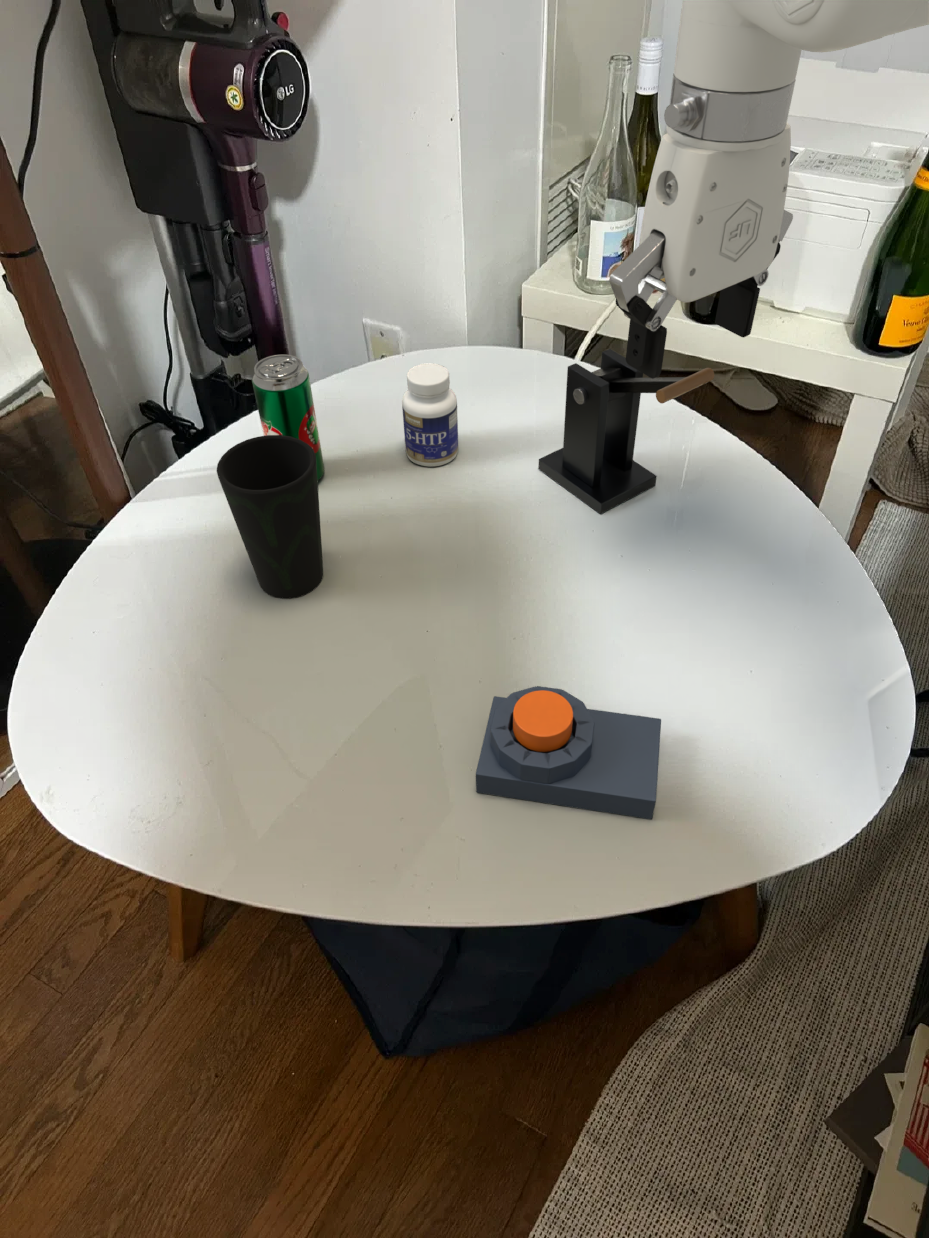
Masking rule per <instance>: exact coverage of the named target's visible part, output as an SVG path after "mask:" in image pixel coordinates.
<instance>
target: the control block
mask: <svg viewBox="0 0 929 1238" xmlns="http://www.w3.org/2000/svg"><path fill="white" fill-rule="evenodd" d="M540 690H544V691H551V692H555V693H557V694H559V695H561V696H562V697H564V698H565V699H566V700H567V701H568V702H569V704H570V705H571V707H572V710H573V723H572V733H571V736H570V739H569V740H568V741H567V743H566V744H565V745H564V746H562V747H561V748H559V749H557V750H554V751H550V752H537V751H533V750H530V749H528V748H526V747H524V746H523V745H522V744H521V743H520V742H519V741H518V740H517V739H516V737H515V735H514V732H513V710H514V706H515V704H516V703H517V701H518V700H519V699H520V698H521V697H522V696H524V695H526V694H528V693H530V692H533V691H540ZM661 732H662V718H659V717H652V716H651V717H650V716H643V715H638V714H637V715H636V714H629V713H621V712H614V711H607V710H599V709H592V708H588V707H587V706H586V704H585V703H584V701H582V700H580V699H579V698H577V697H576V696H574V695H572V694H571V693H569V692H568V691H566V690H564V689H561V688H557V687H556V688H555V687H547V686H539V685H537V686H536V685H535V686H532V687H528V688H523V689H521V690H518V691H514V692H512V693H510V694H508V696H507V697H503V696H497V695H494V696H493V698H492V703H491V707H490V711H489V715H488V720H487V724H486V727H485V732H484V735H483V736H484V737H483V741H482V746H481V750H480V753H479V759H478V761H477V766H476V771H475V791H476V793H478V794H483V795H484V794H485V795H491V796H496V797H497V796H498V797H504V798H511V799H516V800H523V801H530V802H536V803H543V804H548V805H555V806H562V807H569V808H575V809H581V810H588V811H595V812H601V813H608V814H614V815H621V816H627V817H633V818H641V819H646V820H652V819H653V817H654V812H655V806H656V803H657V789H658V775H659V761H660V760H659V759H660V746H661V745H660V744H661Z"/></svg>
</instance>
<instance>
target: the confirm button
mask: <svg viewBox="0 0 929 1238" xmlns="http://www.w3.org/2000/svg"><path fill="white" fill-rule="evenodd" d="M572 723H573V710H572V707H571V705H570V704H569V702H568V701H567V700H566V699H565V698H564V697H562V696H561V695H559V694H557V693H555V692H551V691H544V690H540V691H533V692H530V693H528V694H526V695H524V696H522V697H521V698H520V699H519V700H518V701H517V703H516V704H515V706H514V710H513V732H514V735H515V737H516V739H517V740H518V741H519V742H520V743H521V744H522V745H523V746H524V747H526V748H528V749H530V750H533V751H537V752H550V751H554V750H557V749H559V748H561V747H562V746H564V745H565V744H566V743H567V741H568V740H569V739H570V736H571V733H572Z"/></svg>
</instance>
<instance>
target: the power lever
mask: <svg viewBox="0 0 929 1238" xmlns="http://www.w3.org/2000/svg"><path fill="white" fill-rule="evenodd" d="M591 372H592V373H593V374H595V375H597V376H598V377H600V378H602V379H603V380H605V381H607V382H608V383H610V385H609V396H608V402H611V401H613V400H615V399H617V398H619V397H622V396H624V395H626V393H641V394H655V399H656V400H657V402H658V403H659V404H665V403H666V402H667V403H668V402H669V401H672V400H674V399H675V398H677V397H680V396H682V395H684V394H686V393H688V392H690V391H692V390H694V389H697V388H699V387H701V386H703V385H705V384H707V383H710V382H711V381H713V380H714V378H715V372H714V370H713V369H712V368H711V367H706V368H703V369H701V370H699V371H697V372H695V373H692V374H690V375H688V376H678V377H677V376H674V377H673V376H669V377H668V376H667V377H656V378H654V379H652V378H650V377H643V378H623V377H622V372H621V368H603V369H601V368H598V369H596V370H594V371H591Z"/></svg>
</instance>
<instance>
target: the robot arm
mask: <svg viewBox="0 0 929 1238" xmlns="http://www.w3.org/2000/svg"><path fill="white" fill-rule="evenodd" d="M928 25H929V0H682V2H681V9H680V19H679V26H678V34H677V42H676V52H675V57H674V58H675V59H674V67H673V73H672V81H671V87H670V97H669V105H667V106H666V107H665V109H664V113H663V114H664V115H663V119H664V123H665V124H666V128H665V130H666V133H665V134H663V135H662V136H661V140H660V143H659V146H658V150H657V152H656V153H657V154H656V156H655V161H654V163H653V168H652V172H651V176H650V180H649V184H648V185H649V186H648V191H647V195H646V199H645V204H644V210H643V216H642V221H641V227H640V236H639V243H638V246H637V248H635V249H634V250H633V251H632V252H631V253H630V254H629V255H628V256H627V257H626V258H625V259H624V260H623V261H622V262H621V263H620V264H619V265H618V266H617V267H616V268H615V269H614V270H613V271H612V272H611V274H610V276H609V280H608V281H609V285H610V287H611V291H612V293H613V295H614V297H615V305H616V307H617V308H619V309H620V311H622V312H623V315H624V317H626V318H627V319H629V324H628V325H629V327H628V333H627V344H626V351H625V358H626V362H627V364H628V365H630V366H631V367H633V368H635V369H637V370H638V371H640V372H642V373H643V375H645V376H647V378H652V379H654V378H659V377H660V376H661V373H662V369H663V363H664V362H663V361H664V355H665V349H666V342H667V334H668V328H667V327H666V326H664V325H662V324H663V323H664V321H665V320H666V318H667V317H668V315H669V313H670V311H671V310H672V308H673V307H674V305H675V304H676V302H677V301H679V302H680V303H681V302H682V303H691V302H695V301H697V300H700V299H703V298H705V297H707V296H710V295H713V294H715V293H717V292H720V293H719V299H718V303H717V309H716V314H715V320H714V321H715V325H717V326H718V327H721V328H723V329H724V330H727V331H729V332H730V333H732V334H734V335H736V336H738V337H740V338H746V337H748V336H750V335H751V333H752V329H753V324H754V320H755V315H756V310H757V306H758V300H759V297H760V291H761V288H760V287H762V286H763V285H765V283H767V281H768V279H769V274H770V273H769V270H768V269H769V268H770V266H771V264H772V263H773V262H774V260H775V259H776V258H777V256H778V255H779V253H780V252H781V243H780V242H783V240H784V239H785V236H786V234H787V232H788V230H789V228H790V226H791V224H792V222H793V219H794V215H793V213H792V212H790V211H788V210H785V204H786V198H787V192H788V184H789V177H790V164H791V147H792V139H791V138H792V137H791V132H792V131H791V124H790V123H788V118H789V114H790V109H791V104H792V99H793V94H794V90H795V86H796V78H797V74H798V69H799V65H800V59H801V55H802V51H805V52H811V53H831V52H837V51H841V50H845V49H849V48H852V47H856V46H860V45H862V44H866V43H870V42H873V41H876V40H880V39H882V38H884V37H887V36H892V35H895V34H899V33H901V32H905V31H909V30H913V29H917V28H920V27H925V26H928ZM662 279H664V280H662ZM654 291H657V292H659V293H661V295H660V296H659V297H658V299H657V301H656V302H655V303H654V305H653V307H651V306H650V304H648V301H649V299H650V297H651V295H652V294H653V292H654Z"/></svg>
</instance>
